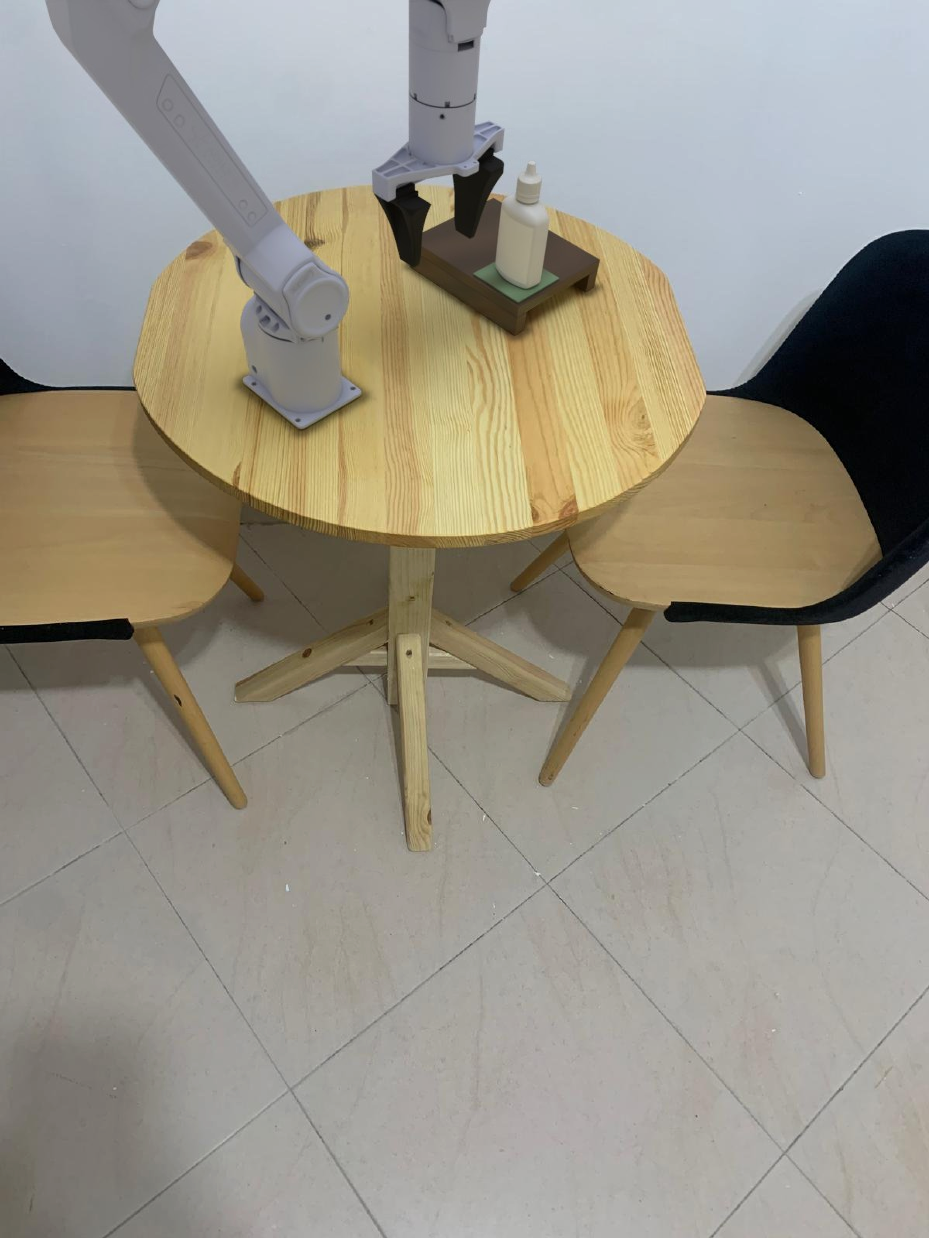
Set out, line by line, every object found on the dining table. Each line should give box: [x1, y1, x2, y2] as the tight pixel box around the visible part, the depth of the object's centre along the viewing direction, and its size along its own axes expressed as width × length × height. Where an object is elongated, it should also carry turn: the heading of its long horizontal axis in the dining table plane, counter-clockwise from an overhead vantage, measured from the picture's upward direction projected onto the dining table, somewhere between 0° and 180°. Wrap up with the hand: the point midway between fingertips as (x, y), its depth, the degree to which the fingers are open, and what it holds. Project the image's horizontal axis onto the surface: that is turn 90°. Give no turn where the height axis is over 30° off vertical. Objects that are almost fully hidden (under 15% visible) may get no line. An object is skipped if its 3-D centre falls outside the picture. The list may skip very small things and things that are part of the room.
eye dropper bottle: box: [495, 160, 550, 289], centre depth 80 cm, size 4×6×12 cm
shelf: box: [409, 197, 601, 336], centre depth 90 cm, size 17×14×4 cm
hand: (437, 247), depth 76 cm, fingers open, 7 cm apart
